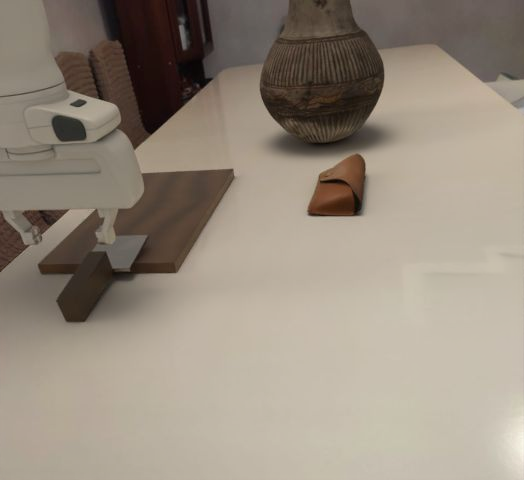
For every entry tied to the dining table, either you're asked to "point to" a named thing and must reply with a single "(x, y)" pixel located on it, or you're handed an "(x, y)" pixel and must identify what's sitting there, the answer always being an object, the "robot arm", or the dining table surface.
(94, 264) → the spatula
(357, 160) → the sunglasses case
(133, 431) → the dining table surface
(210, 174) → the board
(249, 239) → the dining table surface
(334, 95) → the vase
